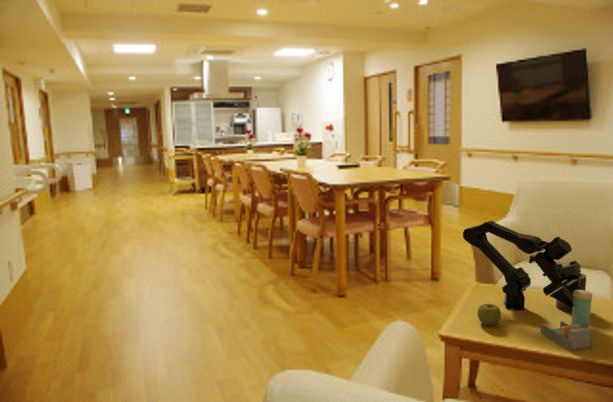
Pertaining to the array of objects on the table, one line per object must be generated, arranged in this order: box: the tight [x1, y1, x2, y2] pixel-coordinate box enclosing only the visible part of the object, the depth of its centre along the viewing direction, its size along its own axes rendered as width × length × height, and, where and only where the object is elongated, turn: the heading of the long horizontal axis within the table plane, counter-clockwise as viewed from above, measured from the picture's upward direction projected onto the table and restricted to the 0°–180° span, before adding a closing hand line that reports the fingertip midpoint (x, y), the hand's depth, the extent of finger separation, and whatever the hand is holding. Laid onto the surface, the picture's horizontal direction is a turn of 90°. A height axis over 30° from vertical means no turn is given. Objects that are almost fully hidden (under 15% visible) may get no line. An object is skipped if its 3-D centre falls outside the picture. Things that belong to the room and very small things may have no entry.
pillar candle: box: [555, 272, 587, 313], centre depth 189 cm, size 10×10×15 cm
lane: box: [539, 320, 594, 352], centre depth 164 cm, size 14×9×6 cm, turn 11°
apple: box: [477, 303, 502, 327], centre depth 177 cm, size 8×8×7 cm
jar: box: [570, 289, 593, 328], centre depth 172 cm, size 6×6×13 cm
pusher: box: [561, 324, 580, 339], centre depth 162 cm, size 1×6×5 cm, turn 101°
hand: (578, 303), depth 173 cm, fingers open, 9 cm apart
